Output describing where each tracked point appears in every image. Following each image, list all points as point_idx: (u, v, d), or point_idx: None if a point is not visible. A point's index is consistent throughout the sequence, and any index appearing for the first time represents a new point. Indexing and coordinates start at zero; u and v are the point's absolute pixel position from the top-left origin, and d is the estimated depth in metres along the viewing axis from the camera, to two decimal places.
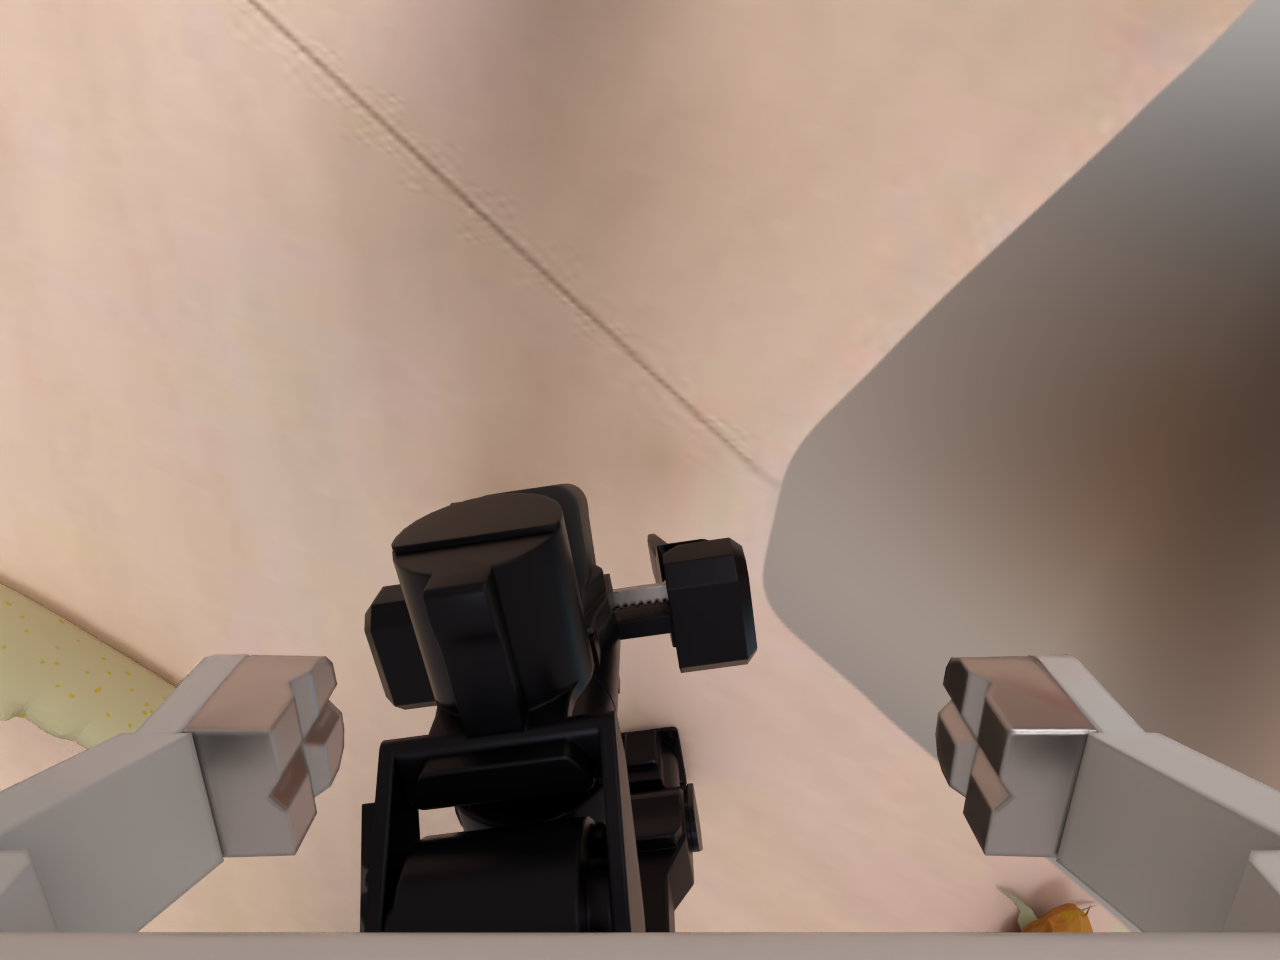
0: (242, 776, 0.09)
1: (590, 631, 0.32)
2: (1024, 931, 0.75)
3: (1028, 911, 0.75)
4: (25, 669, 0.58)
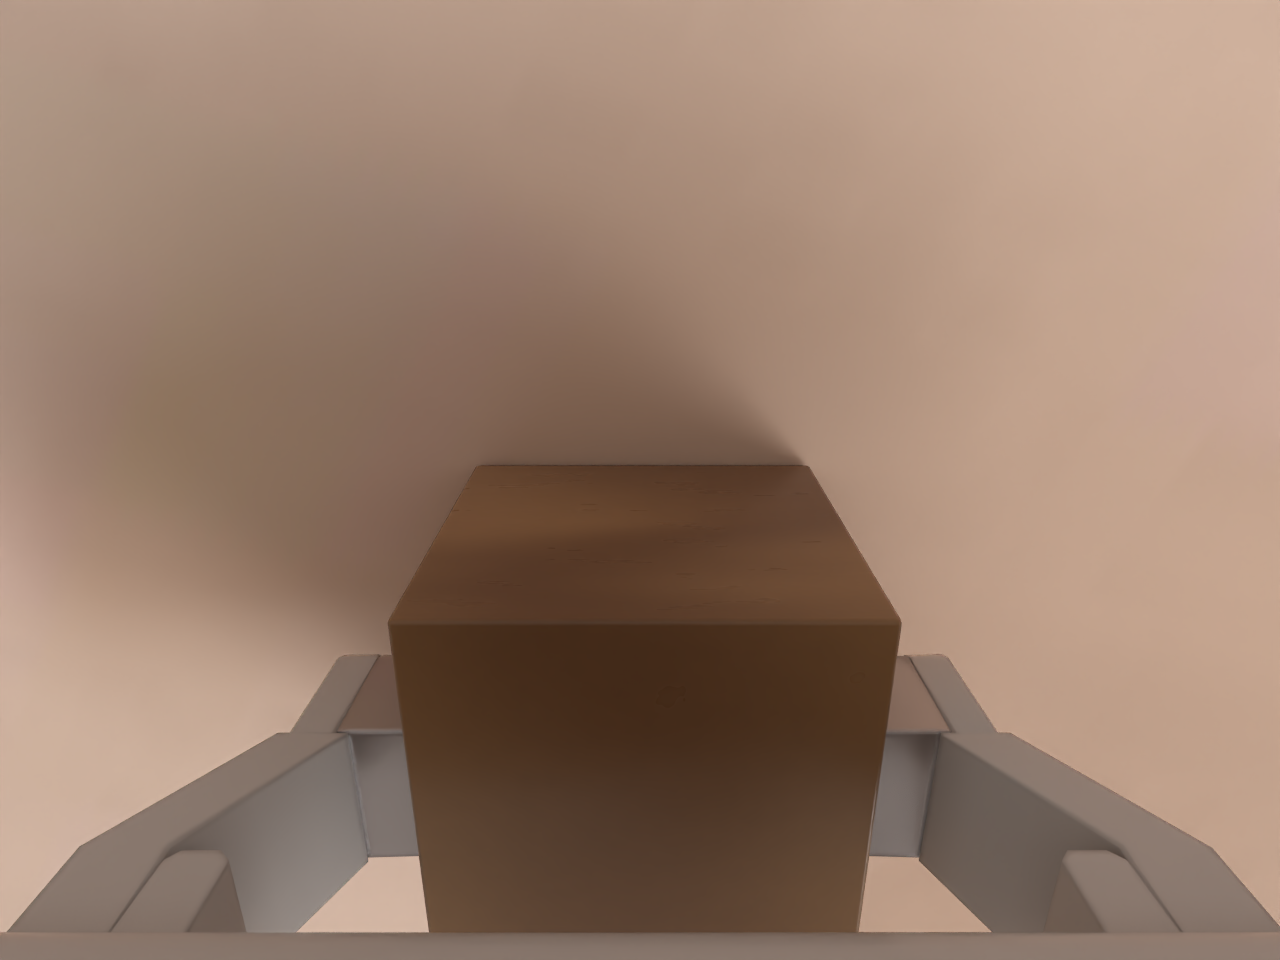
0: (393, 776, 0.09)
1: None
2: None
3: None
4: None
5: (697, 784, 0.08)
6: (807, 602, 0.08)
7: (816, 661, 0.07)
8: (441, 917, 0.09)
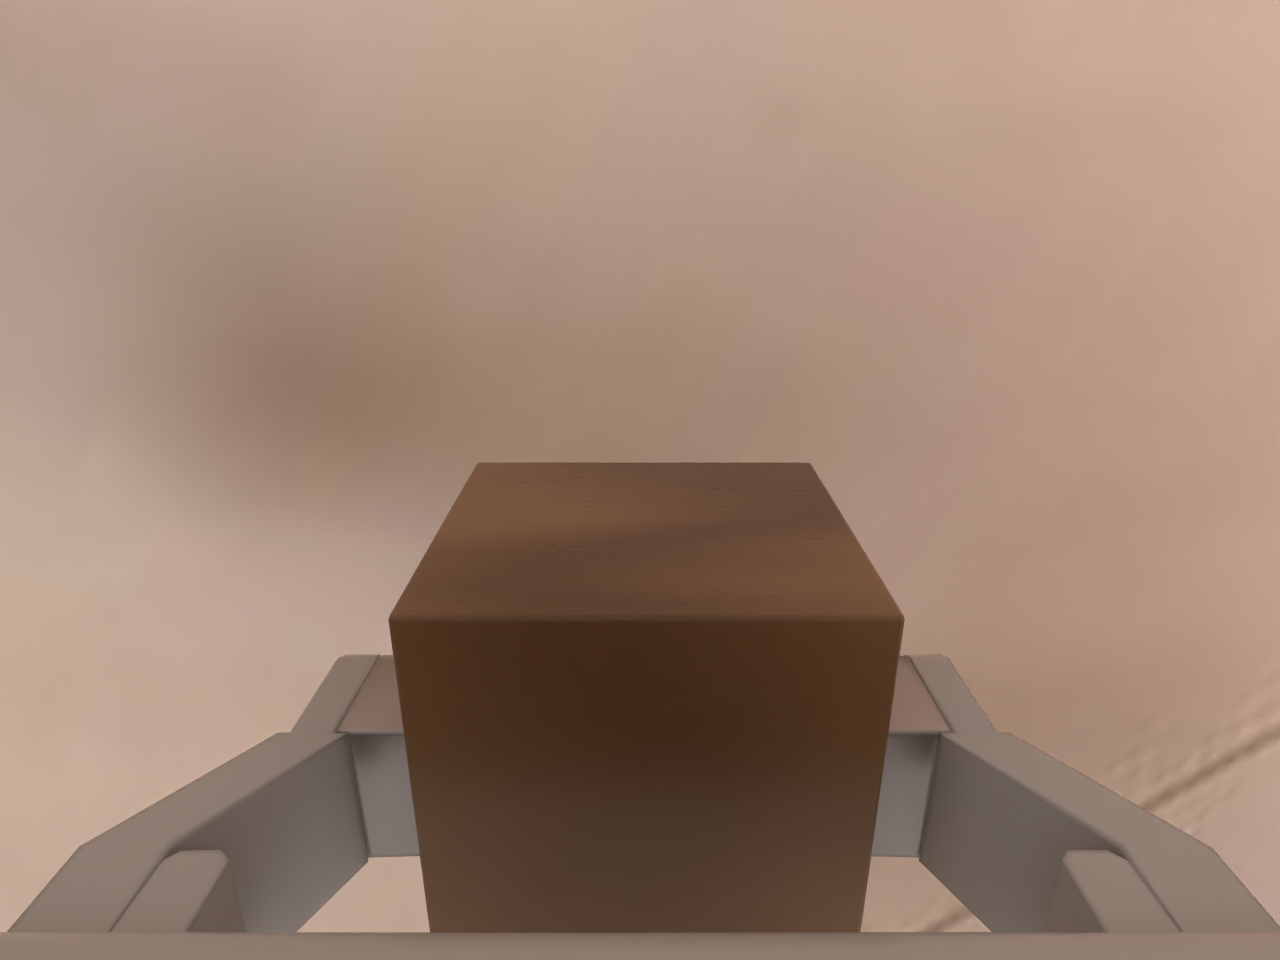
0: (393, 776, 0.09)
1: None
2: None
3: None
4: None
5: (699, 781, 0.08)
6: (810, 599, 0.08)
7: (818, 659, 0.07)
8: (441, 915, 0.09)
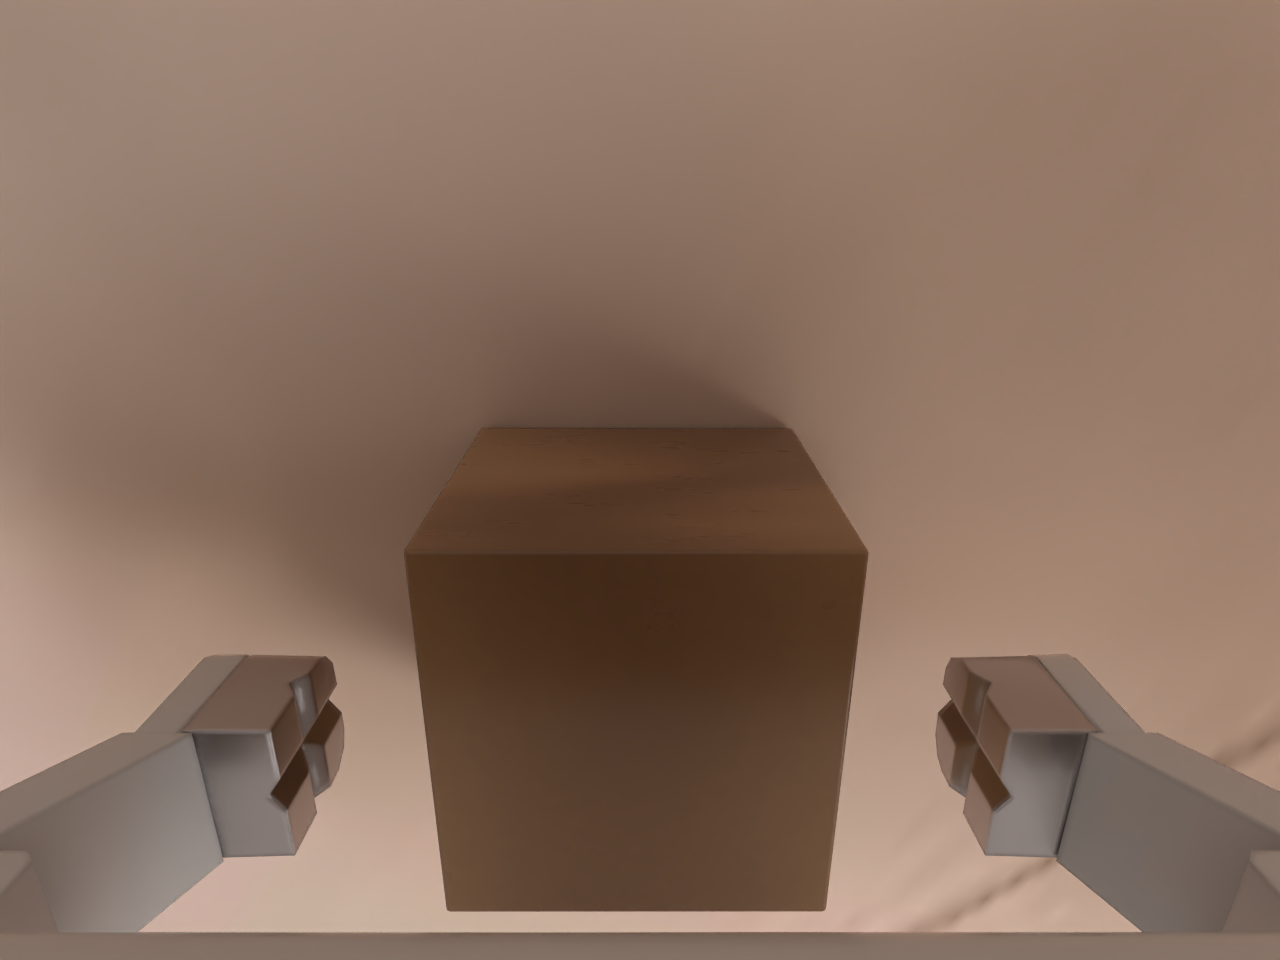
0: (242, 776, 0.09)
1: None
2: None
3: None
4: None
5: (685, 704, 0.09)
6: (784, 537, 0.08)
7: (791, 589, 0.08)
8: (450, 832, 0.09)
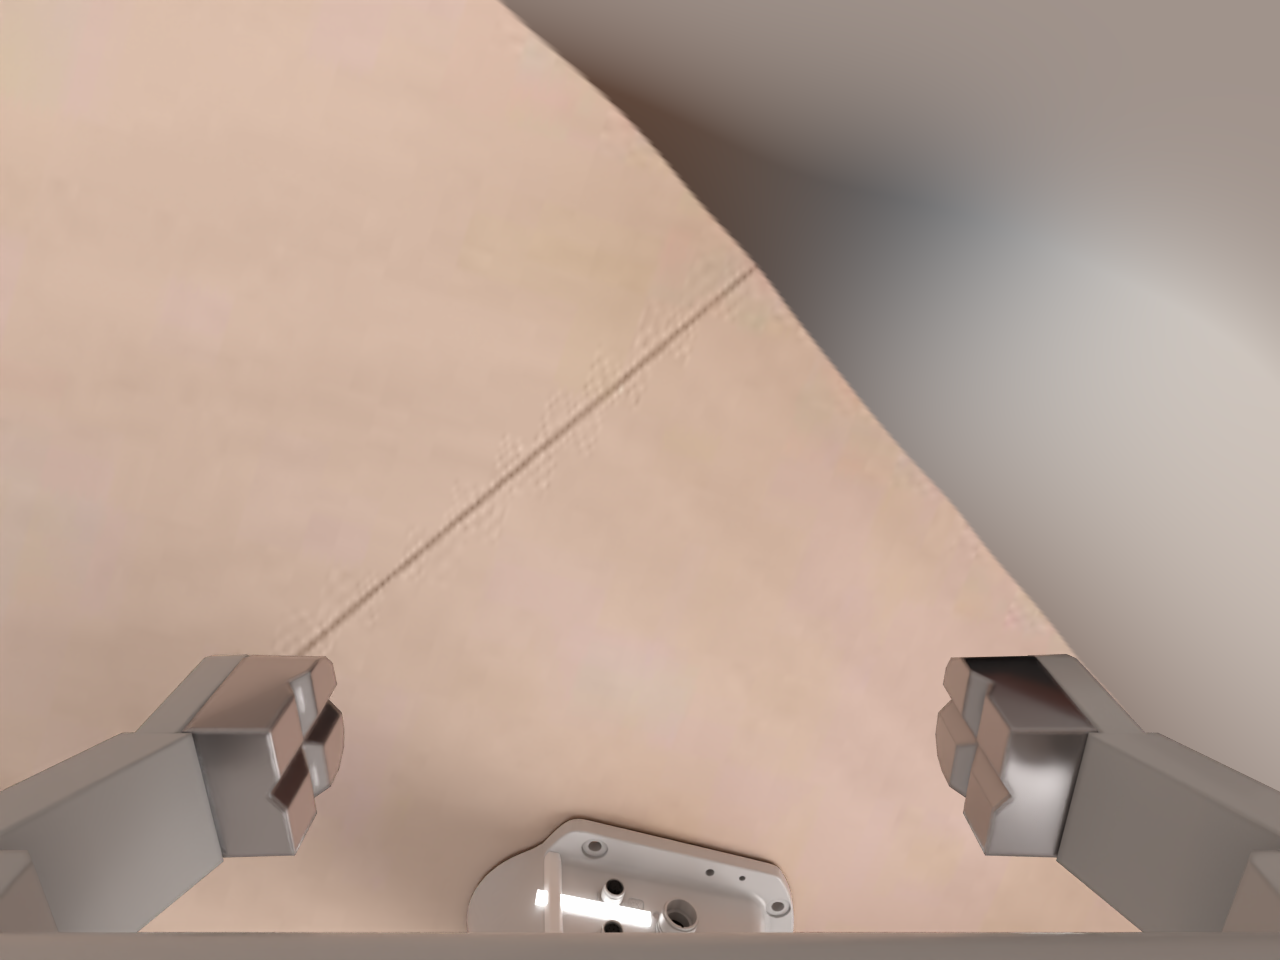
0: (242, 776, 0.09)
1: None
2: None
3: None
4: None
5: None
6: None
7: None
8: None
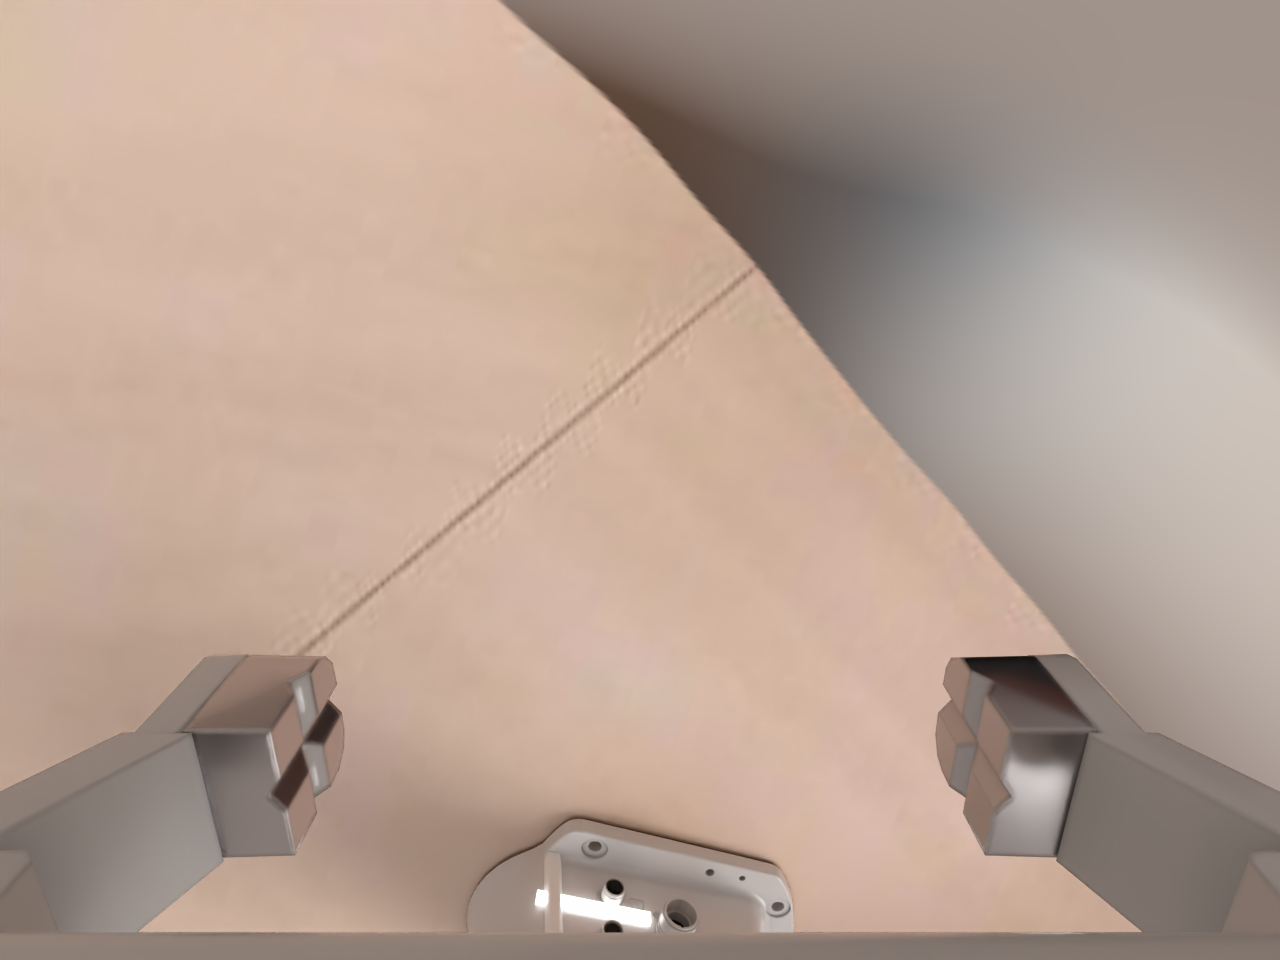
0: (242, 776, 0.09)
1: None
2: None
3: None
4: None
5: None
6: None
7: None
8: None
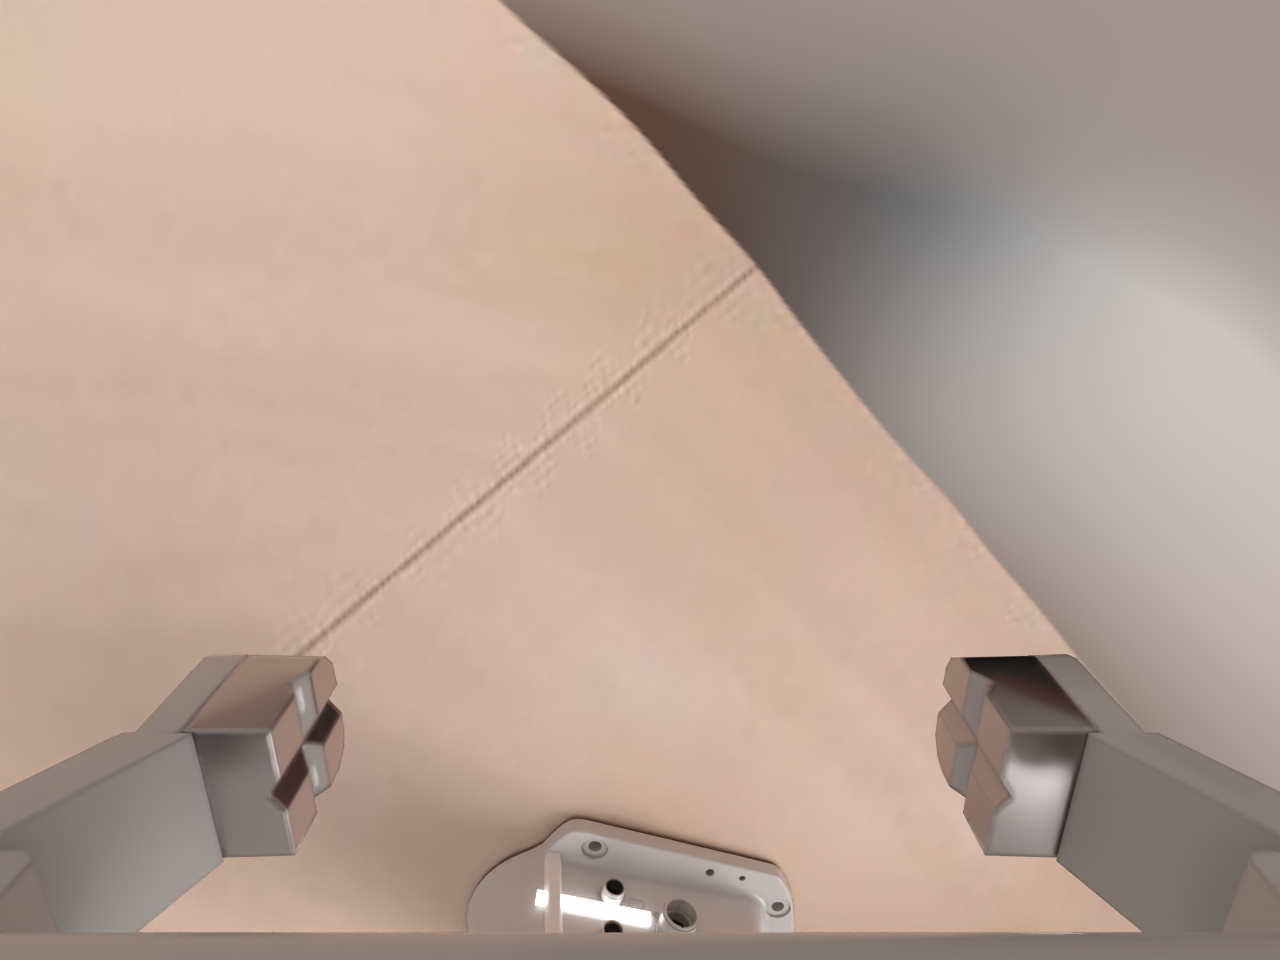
0: (242, 776, 0.09)
1: None
2: None
3: None
4: None
5: None
6: None
7: None
8: None
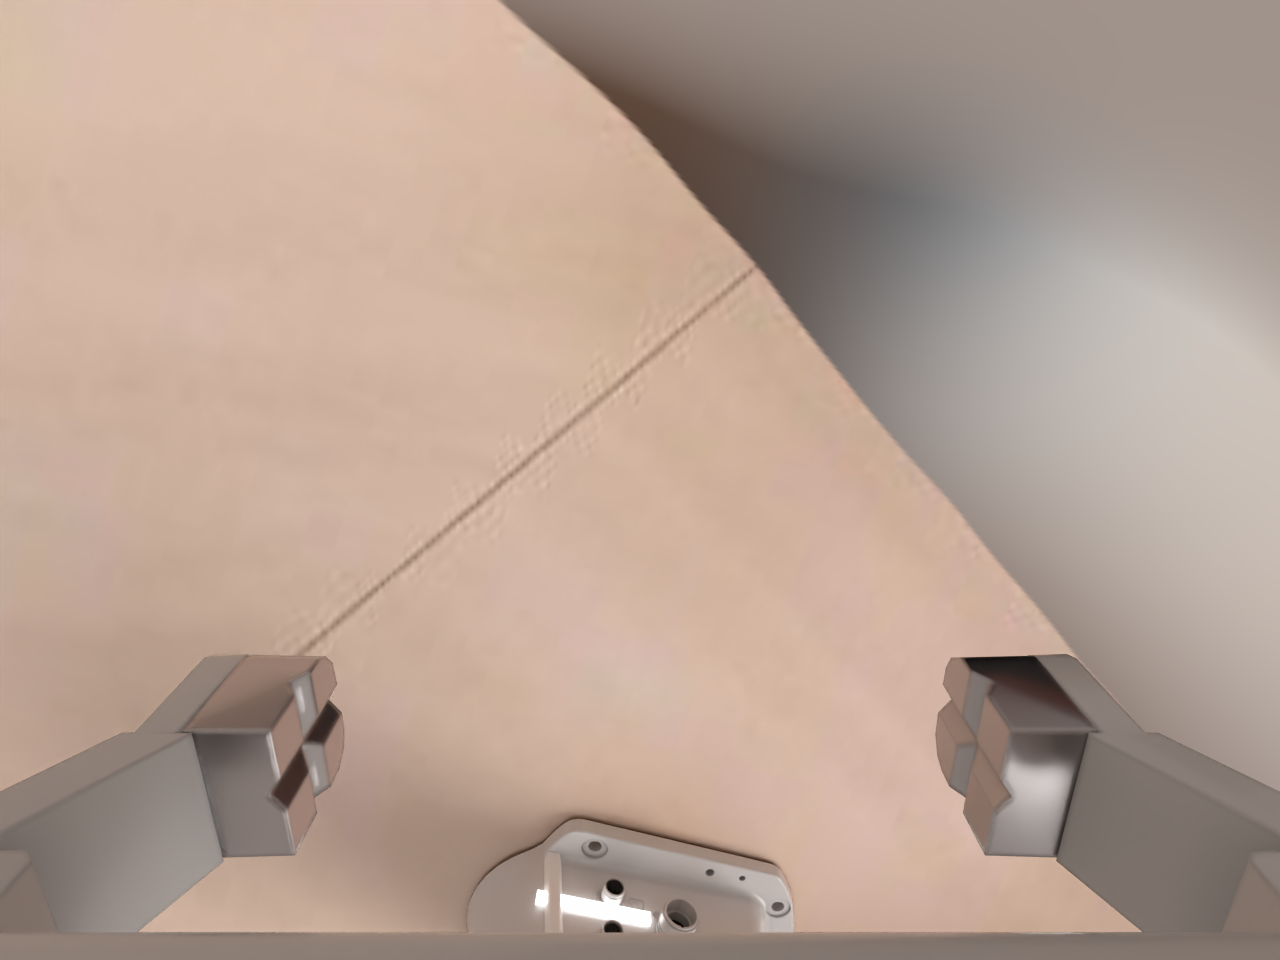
0: (242, 776, 0.09)
1: None
2: None
3: None
4: None
5: None
6: None
7: None
8: None
